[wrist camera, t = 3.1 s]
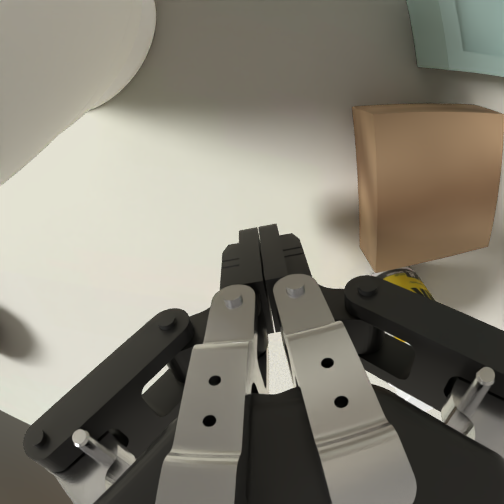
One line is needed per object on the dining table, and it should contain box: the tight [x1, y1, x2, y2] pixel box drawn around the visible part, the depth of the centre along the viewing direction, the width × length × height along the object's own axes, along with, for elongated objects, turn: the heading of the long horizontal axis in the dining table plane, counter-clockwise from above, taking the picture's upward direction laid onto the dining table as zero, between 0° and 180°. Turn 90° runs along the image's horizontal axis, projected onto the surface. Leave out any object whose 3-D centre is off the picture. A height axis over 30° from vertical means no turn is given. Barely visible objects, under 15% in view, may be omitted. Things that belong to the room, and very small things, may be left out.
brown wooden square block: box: [352, 103, 504, 273], centre depth 14 cm, size 8×8×3 cm
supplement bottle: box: [371, 267, 435, 412], centre depth 16 cm, size 5×5×8 cm
